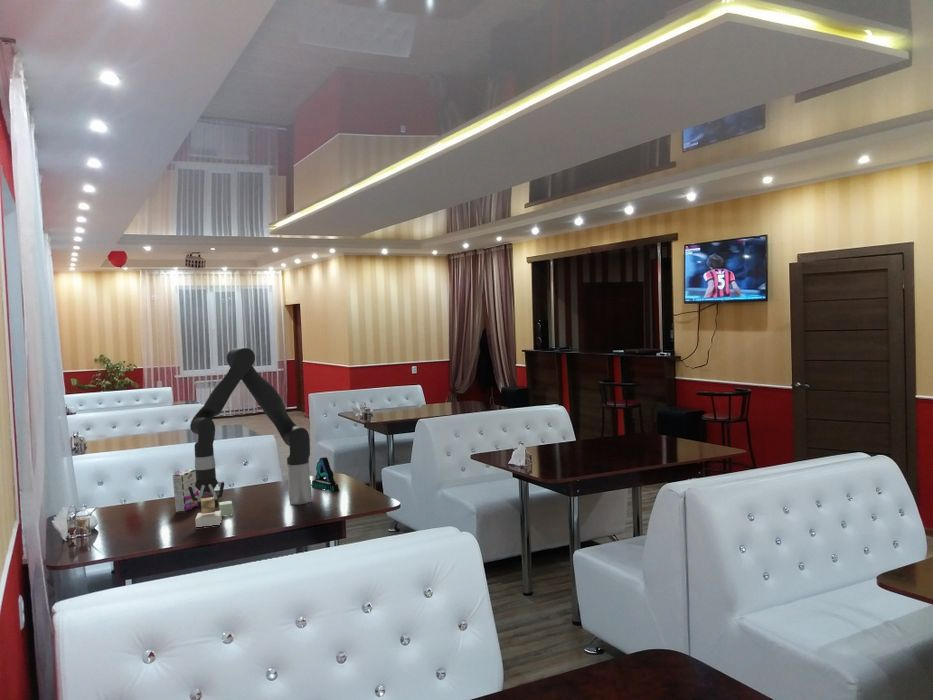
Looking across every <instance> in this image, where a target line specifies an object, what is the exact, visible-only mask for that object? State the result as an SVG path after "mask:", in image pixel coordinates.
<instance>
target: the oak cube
mask: <svg viewBox="0 0 933 700" xmlns="http://www.w3.org/2000/svg"><path fill="white" fill-rule="evenodd" d="M201 510H202V511H201V513H202V514H206V513H213V512H215V511H216V509H215V502H214V497H213V496H211V497H204V498H202V497H201Z"/></svg>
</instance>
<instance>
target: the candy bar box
mask: <svg viewBox="0 0 933 700" xmlns="http://www.w3.org/2000/svg"><path fill="white" fill-rule="evenodd" d="M172 482H173V483H172V484H173V493H174V504H175V513H179V512H178V511H187V510H189V509H191V508H193V507H195V506H197V505H198V502H197V501H193V500H192V497H191V494H190V492H189V489H188V486H190V485H194V484H195V483H196V473H195V468H188V469H184V470H181V471H180V472H177V473H174V474H173V475H172ZM193 492H194V495H195V497H198V495H199V490H198V489H197V488H196V487H195V488H194V491H193ZM197 507H198V506H197ZM195 508H196V507H195ZM193 509H194V508H193ZM191 510H192V509H191ZM189 511H190V510H189ZM187 512H188V511H187Z"/></svg>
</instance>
